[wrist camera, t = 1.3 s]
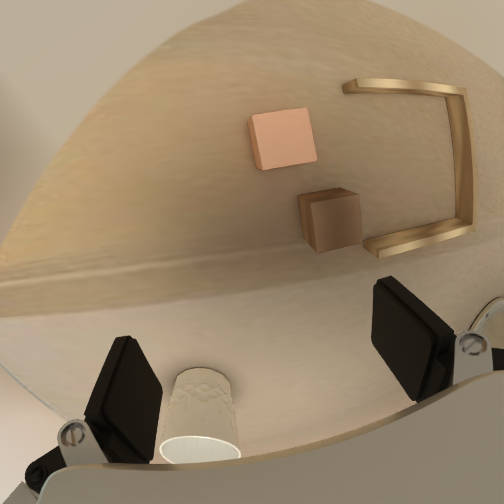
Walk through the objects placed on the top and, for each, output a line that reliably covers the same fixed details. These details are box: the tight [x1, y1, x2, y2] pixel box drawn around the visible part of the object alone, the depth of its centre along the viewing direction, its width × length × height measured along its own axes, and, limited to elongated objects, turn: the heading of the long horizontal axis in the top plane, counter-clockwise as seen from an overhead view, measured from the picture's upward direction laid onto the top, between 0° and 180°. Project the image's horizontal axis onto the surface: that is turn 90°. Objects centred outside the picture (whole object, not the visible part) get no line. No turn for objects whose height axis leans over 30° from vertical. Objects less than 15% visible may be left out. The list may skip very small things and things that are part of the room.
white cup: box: [159, 368, 241, 464], centre depth 26 cm, size 8×8×10 cm
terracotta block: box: [247, 108, 317, 170], centre depth 20 cm, size 4×4×4 cm
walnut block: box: [298, 188, 363, 253], centre depth 23 cm, size 4×4×4 cm
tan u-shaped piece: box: [342, 78, 477, 259], centre depth 22 cm, size 14×16×3 cm
